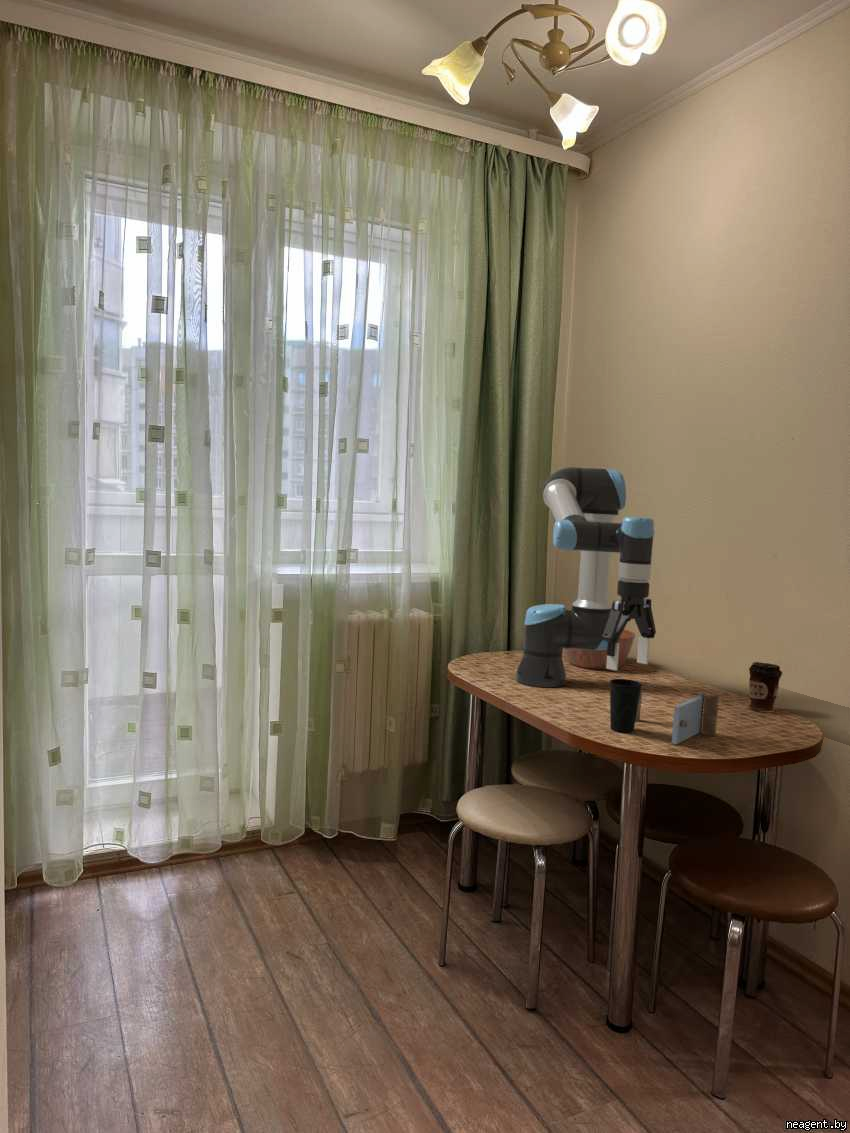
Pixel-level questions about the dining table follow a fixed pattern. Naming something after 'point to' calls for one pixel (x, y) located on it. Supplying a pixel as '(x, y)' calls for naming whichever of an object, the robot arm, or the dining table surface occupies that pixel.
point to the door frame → (708, 713)
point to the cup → (624, 704)
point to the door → (688, 719)
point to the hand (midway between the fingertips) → (627, 666)
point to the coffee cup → (763, 686)
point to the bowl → (600, 654)
